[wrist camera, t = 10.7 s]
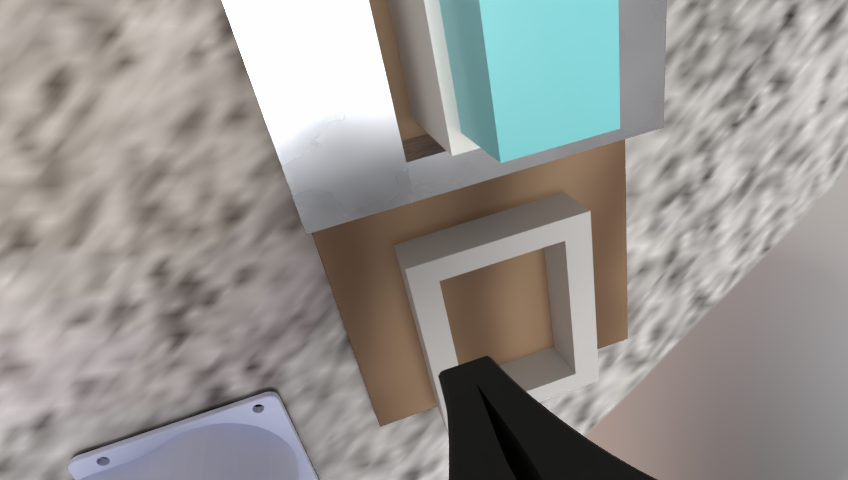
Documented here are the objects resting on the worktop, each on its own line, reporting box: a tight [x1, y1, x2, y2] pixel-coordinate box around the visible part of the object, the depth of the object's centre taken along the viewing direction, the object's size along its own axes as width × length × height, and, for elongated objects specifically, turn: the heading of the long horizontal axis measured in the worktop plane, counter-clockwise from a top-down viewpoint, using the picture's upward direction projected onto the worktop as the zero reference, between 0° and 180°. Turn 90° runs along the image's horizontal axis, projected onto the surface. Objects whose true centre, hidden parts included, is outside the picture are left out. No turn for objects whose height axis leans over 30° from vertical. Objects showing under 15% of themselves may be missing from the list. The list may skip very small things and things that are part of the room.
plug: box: [388, 0, 620, 163], centre depth 15 cm, size 4×6×8 cm, turn 12°
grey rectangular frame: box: [394, 192, 599, 435], centre depth 23 cm, size 8×10×2 cm
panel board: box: [312, 0, 628, 426], centre depth 21 cm, size 14×24×1 cm, turn 12°
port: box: [222, 0, 667, 234], centre depth 17 cm, size 14×11×2 cm
